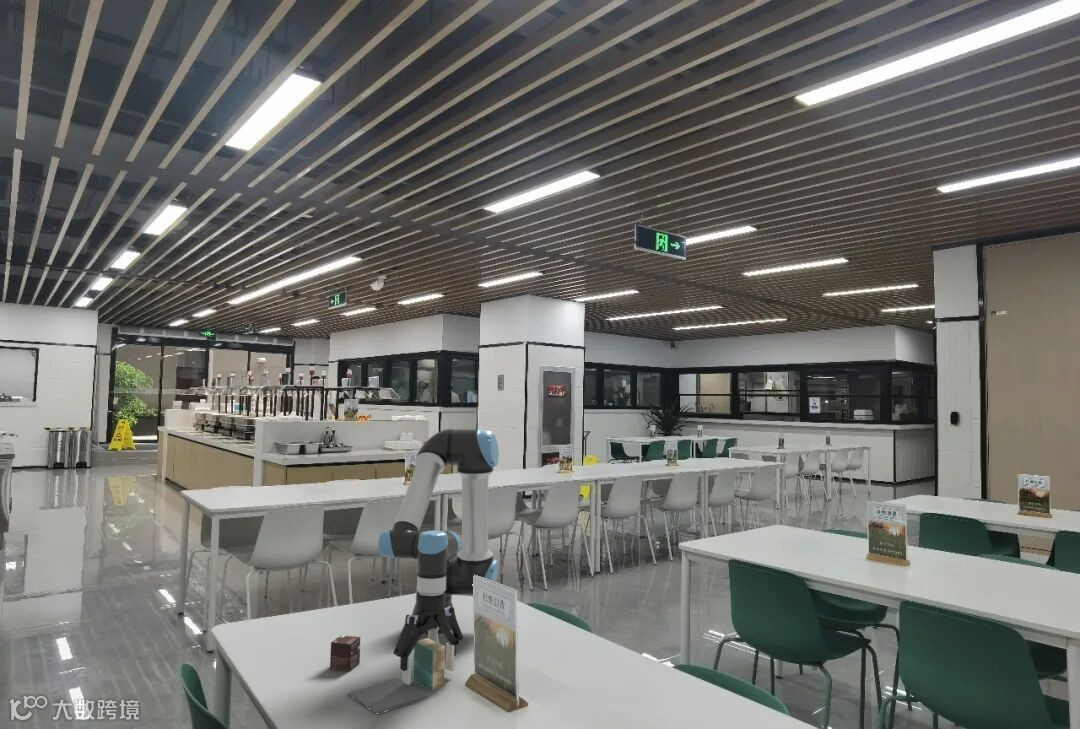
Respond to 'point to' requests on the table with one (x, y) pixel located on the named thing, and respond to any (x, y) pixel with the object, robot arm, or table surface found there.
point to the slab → (429, 663)
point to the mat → (387, 695)
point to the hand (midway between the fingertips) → (428, 676)
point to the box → (345, 653)
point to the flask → (433, 635)
